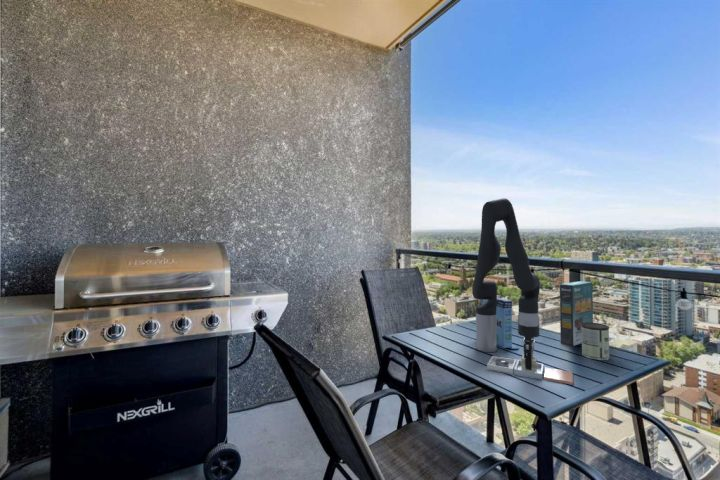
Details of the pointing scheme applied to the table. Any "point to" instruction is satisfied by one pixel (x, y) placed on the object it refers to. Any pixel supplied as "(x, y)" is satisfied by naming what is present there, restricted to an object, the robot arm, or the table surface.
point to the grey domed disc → (502, 363)
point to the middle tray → (536, 375)
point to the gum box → (503, 322)
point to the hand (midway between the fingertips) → (529, 365)
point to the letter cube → (534, 364)
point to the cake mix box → (575, 310)
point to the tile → (558, 376)
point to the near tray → (493, 367)
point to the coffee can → (595, 341)
